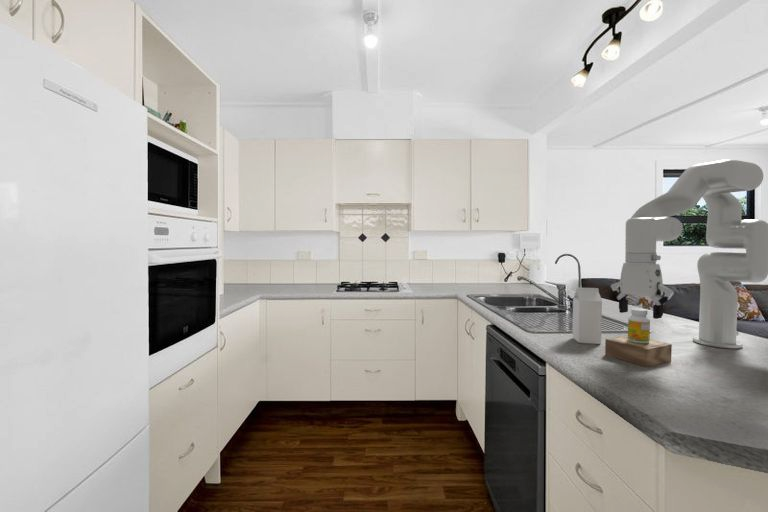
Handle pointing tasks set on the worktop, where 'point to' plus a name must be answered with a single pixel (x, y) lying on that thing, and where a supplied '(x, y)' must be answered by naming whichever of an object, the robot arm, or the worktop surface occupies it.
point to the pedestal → (638, 351)
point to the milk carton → (587, 315)
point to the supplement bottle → (638, 326)
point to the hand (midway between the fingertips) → (639, 315)
